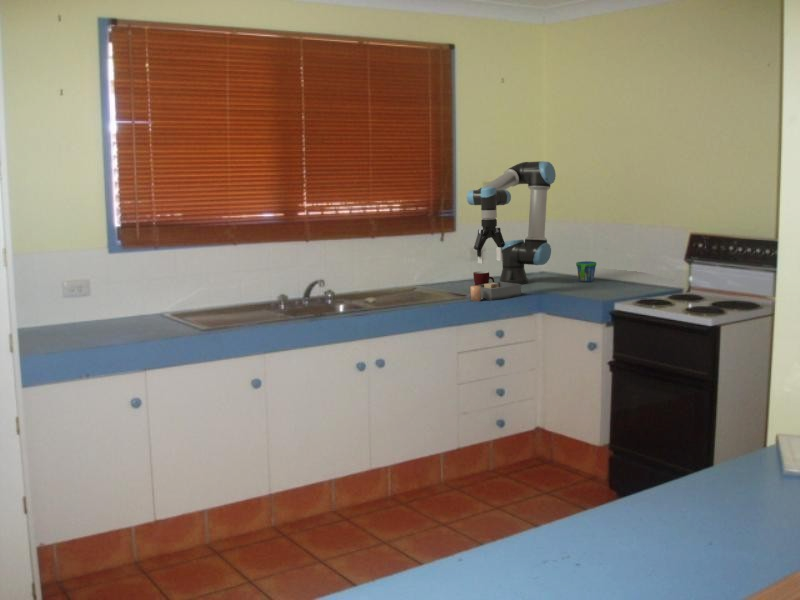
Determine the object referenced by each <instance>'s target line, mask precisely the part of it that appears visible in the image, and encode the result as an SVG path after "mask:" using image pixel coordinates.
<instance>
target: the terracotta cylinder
mask: <svg viewBox="0 0 800 600" xmlns="http://www.w3.org/2000/svg"><path fill="white" fill-rule="evenodd" d="M471 300H473V301H472V302H474V301H475V302H481V301H482V299H481V286H475V285H471V294H470V301H471ZM475 302H474V303H475Z"/></svg>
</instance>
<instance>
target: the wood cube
mask: <svg viewBox="0 0 800 600" xmlns="http://www.w3.org/2000/svg"><path fill="white" fill-rule="evenodd" d="M498 287H499V285H498V283H492V282H489V283H487V284H484V288H490V289H492V288H498Z"/></svg>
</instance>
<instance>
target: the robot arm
mask: <svg viewBox="0 0 800 600" xmlns="http://www.w3.org/2000/svg"><path fill="white" fill-rule="evenodd" d="M556 176H557V175H556V169H555V167H554V165H553V164H552V162H550V161H545V160H544V161H523V162H519V163H517V164H514V165H513V166H511V167H509V168H507V169H506V170H505V171H503V174H502V175H499V176H498V177H495V179H493V180H491V181H490V182H488V183H486V184H485V185H483V186H482V187H479V188H478V189H472V190H471V189H470V190H468V192H467V194H466V201H467V203H468V205H470V206H480V209H481V210H480V211H481V212H480V213H481V214H480V215H481V216H480V217H481V221H480V223H481V228H482V229H478V230H477V235H476V239H475V242H474V244H473V249H474V250H476V255H477V256H476V257H477V264H481V265H482V264H484V250H483V247H484V245H485V244H486V242H487V240H488V239H490V238H492V240H493V242H494V243H495V245H496V249H495V250H496V252H495V253H496V261H499V262H500V261H501V262H502V264H501V265H502V269H501V274H500V278H499V282H507V283H516V284H521V285H525V284H528V282H529V281H528V279H529V277H527V272H526V270H525V265H528V266H529V265H530V266H531V265H532V266H534V265H535V266H543V265H546V264H547V263H548V261H549V260H550V258H551V255H552V247H551V244H549V243H548V239H547V237H546V236H545V235H546V234H545V232H546V218H547V217H546V216H547V200H548V199H547V198H548V191H549V190H550V189H551V185H552V184H554V183H555V180H556ZM518 185H527V187H528V189H529V190H530V195H529V210H528V211H529V212H528V214H529V215H528V228H527V229H528V232H527V233H528V234H527V236H526V238H524V239H516V240H507V241H505V240H504V237H503V235H502V234H503V233H502V232H501V227H497V226H498V220H497V216H498V215H497V214H498V213H497V208H498V207H497V206H504V205H508V204H509V203H510V202H511V200H512V195H511V192H510V191H509V190H508V189H509V188H511V187H512V188H513V187H515V186H518Z"/></svg>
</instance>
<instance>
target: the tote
mask: <svg viewBox="0 0 800 600" xmlns="http://www.w3.org/2000/svg"><path fill="white" fill-rule="evenodd" d="M494 283H498V285H499V287H498V288H492V289H490V288H484V284H481V285H475V284H474V286H481V297H482V298H485V299H487V301H495V300H501V299H502V300H503V299H507V298H513V297H519V296H522V284H516V283H507V282H500V281H494ZM471 286H472V285H471ZM471 286H470V287H469V290H470V295H471ZM485 299H484V300H485Z"/></svg>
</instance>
